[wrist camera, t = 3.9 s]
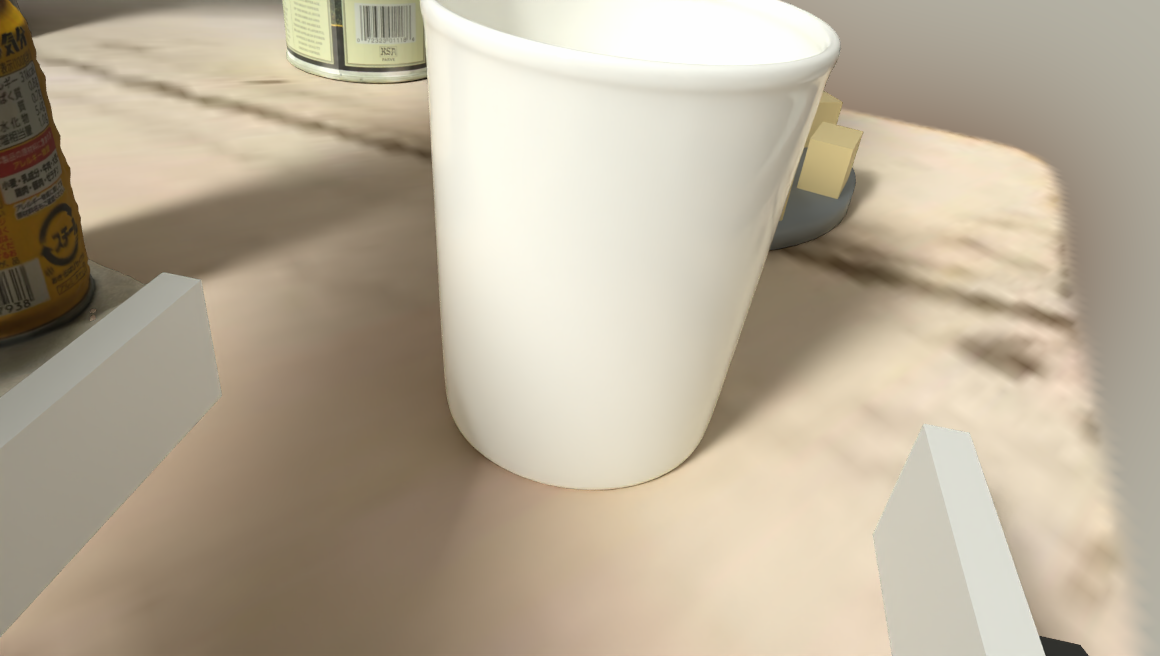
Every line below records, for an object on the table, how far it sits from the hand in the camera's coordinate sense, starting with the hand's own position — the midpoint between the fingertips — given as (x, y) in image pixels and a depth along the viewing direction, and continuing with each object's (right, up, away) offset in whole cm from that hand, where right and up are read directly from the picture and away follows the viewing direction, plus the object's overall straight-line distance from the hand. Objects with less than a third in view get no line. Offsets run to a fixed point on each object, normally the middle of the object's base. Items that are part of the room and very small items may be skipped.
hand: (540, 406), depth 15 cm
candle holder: (+1, -1, +11) cm, 11 cm away
